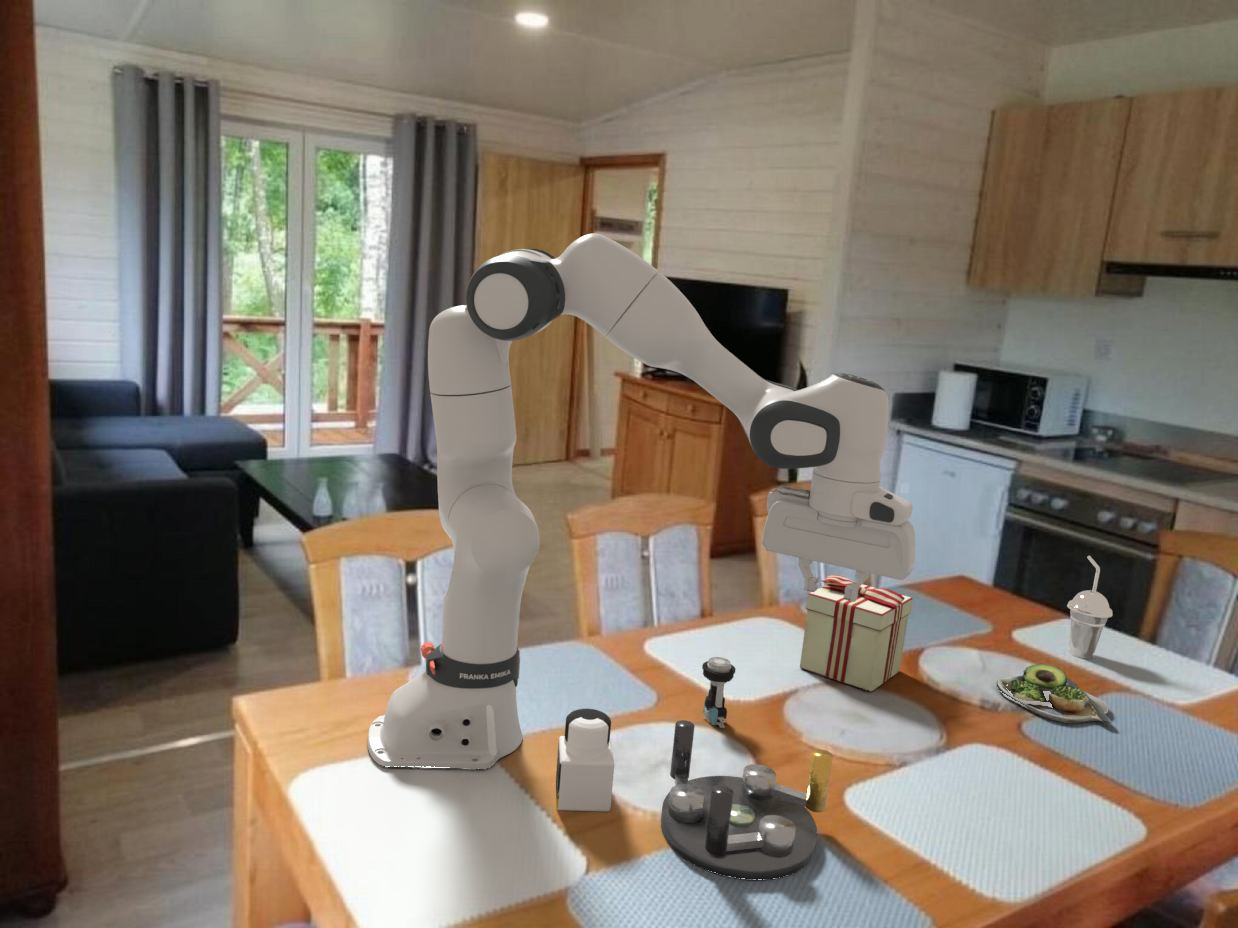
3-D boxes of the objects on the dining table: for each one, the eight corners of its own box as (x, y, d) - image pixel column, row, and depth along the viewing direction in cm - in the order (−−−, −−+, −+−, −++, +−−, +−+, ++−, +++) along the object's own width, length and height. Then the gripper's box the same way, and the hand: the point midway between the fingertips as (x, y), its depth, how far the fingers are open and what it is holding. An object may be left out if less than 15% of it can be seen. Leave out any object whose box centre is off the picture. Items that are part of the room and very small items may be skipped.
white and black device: (555, 781, 129) (561, 701, 126) (606, 783, 130) (613, 703, 127) (556, 811, 122) (562, 727, 120) (610, 812, 123) (617, 729, 120)
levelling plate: (694, 889, 109) (696, 869, 108) (640, 795, 127) (642, 778, 127) (844, 869, 115) (847, 851, 114) (772, 782, 133) (774, 766, 133)
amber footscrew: (736, 793, 126) (743, 737, 124) (747, 778, 130) (754, 724, 128) (819, 821, 121) (827, 764, 119) (828, 806, 124) (836, 750, 123)
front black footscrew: (782, 833, 117) (790, 774, 116) (799, 854, 113) (807, 793, 112) (698, 842, 114) (705, 782, 112) (712, 864, 110) (719, 802, 108)
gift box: (907, 664, 180) (920, 580, 177) (878, 696, 165) (892, 605, 162) (823, 640, 189) (834, 559, 186) (789, 668, 174) (800, 581, 170)
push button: (737, 729, 148) (744, 671, 146) (706, 731, 147) (713, 672, 145) (722, 710, 155) (728, 654, 153) (692, 711, 153) (698, 655, 151)
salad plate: (1140, 725, 163) (1146, 701, 162) (1066, 737, 156) (1071, 712, 155) (1052, 678, 180) (1056, 656, 179) (981, 687, 173) (985, 664, 172)
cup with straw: (1056, 654, 192) (1073, 562, 188) (1061, 642, 200) (1078, 553, 196) (1101, 666, 188) (1120, 572, 184) (1105, 653, 195) (1123, 562, 191)
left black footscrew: (704, 823, 118) (710, 764, 116) (669, 821, 118) (676, 762, 116) (694, 775, 129) (699, 721, 128) (662, 773, 129) (668, 719, 127)
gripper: (761, 486, 126) (750, 583, 129) (916, 515, 117) (900, 619, 120) (776, 479, 131) (765, 572, 134) (925, 506, 122) (909, 605, 125)
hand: (830, 594), depth 127 cm, fingers open, 4 cm apart
